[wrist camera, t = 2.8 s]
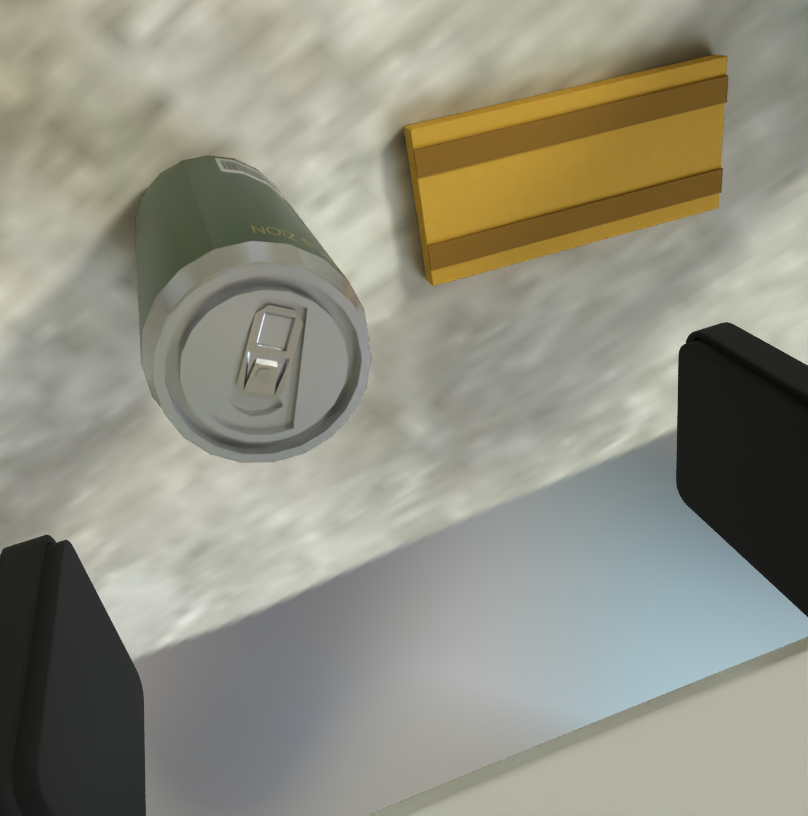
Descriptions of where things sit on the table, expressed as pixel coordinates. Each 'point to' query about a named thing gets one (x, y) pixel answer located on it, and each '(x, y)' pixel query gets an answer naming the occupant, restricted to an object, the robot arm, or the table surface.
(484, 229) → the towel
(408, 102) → the table surface
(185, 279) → the beer can
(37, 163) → the table surface
